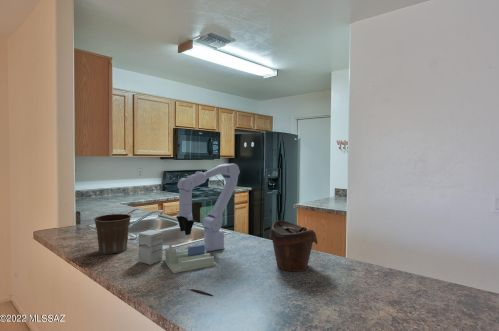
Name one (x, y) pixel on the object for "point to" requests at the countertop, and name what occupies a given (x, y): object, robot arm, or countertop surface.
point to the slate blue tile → (196, 250)
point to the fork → (193, 289)
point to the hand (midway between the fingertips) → (185, 232)
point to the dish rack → (186, 260)
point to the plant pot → (112, 232)
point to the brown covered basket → (292, 245)
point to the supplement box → (150, 246)
